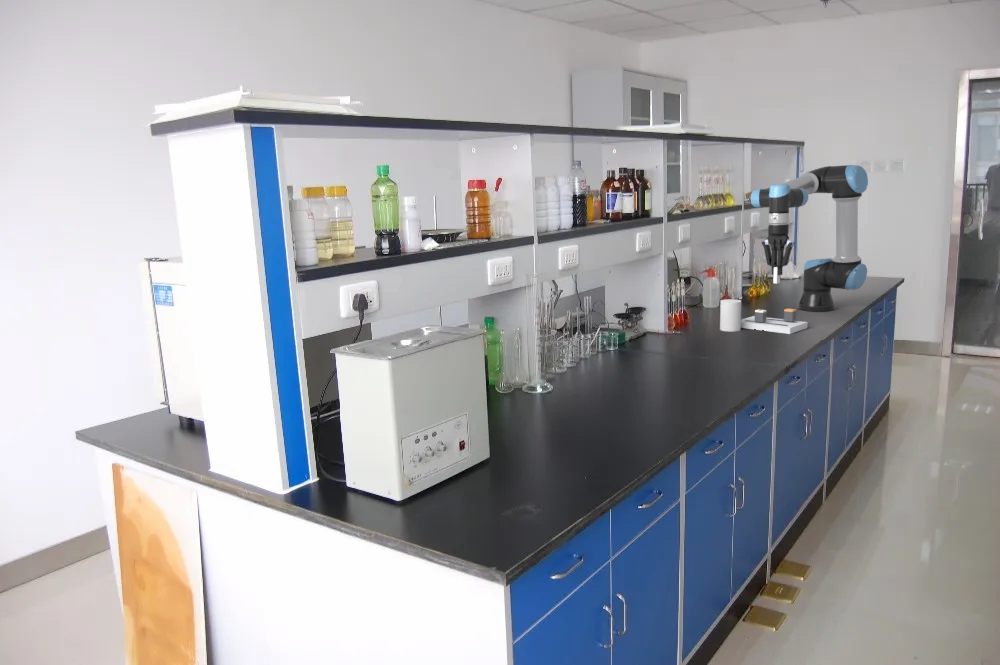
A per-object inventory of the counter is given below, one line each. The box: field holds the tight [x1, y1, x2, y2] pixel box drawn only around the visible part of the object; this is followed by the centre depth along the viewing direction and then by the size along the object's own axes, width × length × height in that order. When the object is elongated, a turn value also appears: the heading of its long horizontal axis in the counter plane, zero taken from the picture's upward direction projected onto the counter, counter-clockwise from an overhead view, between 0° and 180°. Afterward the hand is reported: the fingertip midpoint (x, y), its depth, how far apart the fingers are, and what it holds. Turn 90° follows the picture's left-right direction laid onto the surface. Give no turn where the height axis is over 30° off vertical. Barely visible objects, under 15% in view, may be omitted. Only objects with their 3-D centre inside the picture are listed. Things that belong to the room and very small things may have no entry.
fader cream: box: [754, 308, 767, 322], centre depth 302 cm, size 3×4×5 cm
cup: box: [719, 298, 742, 333], centre depth 303 cm, size 8×8×12 cm
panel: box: [741, 315, 809, 335], centre depth 304 cm, size 15×24×3 cm, turn 42°
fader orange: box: [783, 308, 797, 322], centre depth 301 cm, size 3×4×5 cm
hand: (776, 283), depth 295 cm, fingers closed
